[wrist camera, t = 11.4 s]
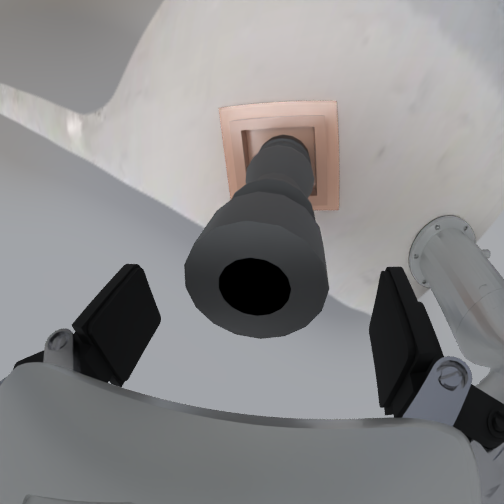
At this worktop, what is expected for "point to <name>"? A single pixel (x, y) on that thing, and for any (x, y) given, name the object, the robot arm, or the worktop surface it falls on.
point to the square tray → (285, 123)
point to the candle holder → (263, 249)
